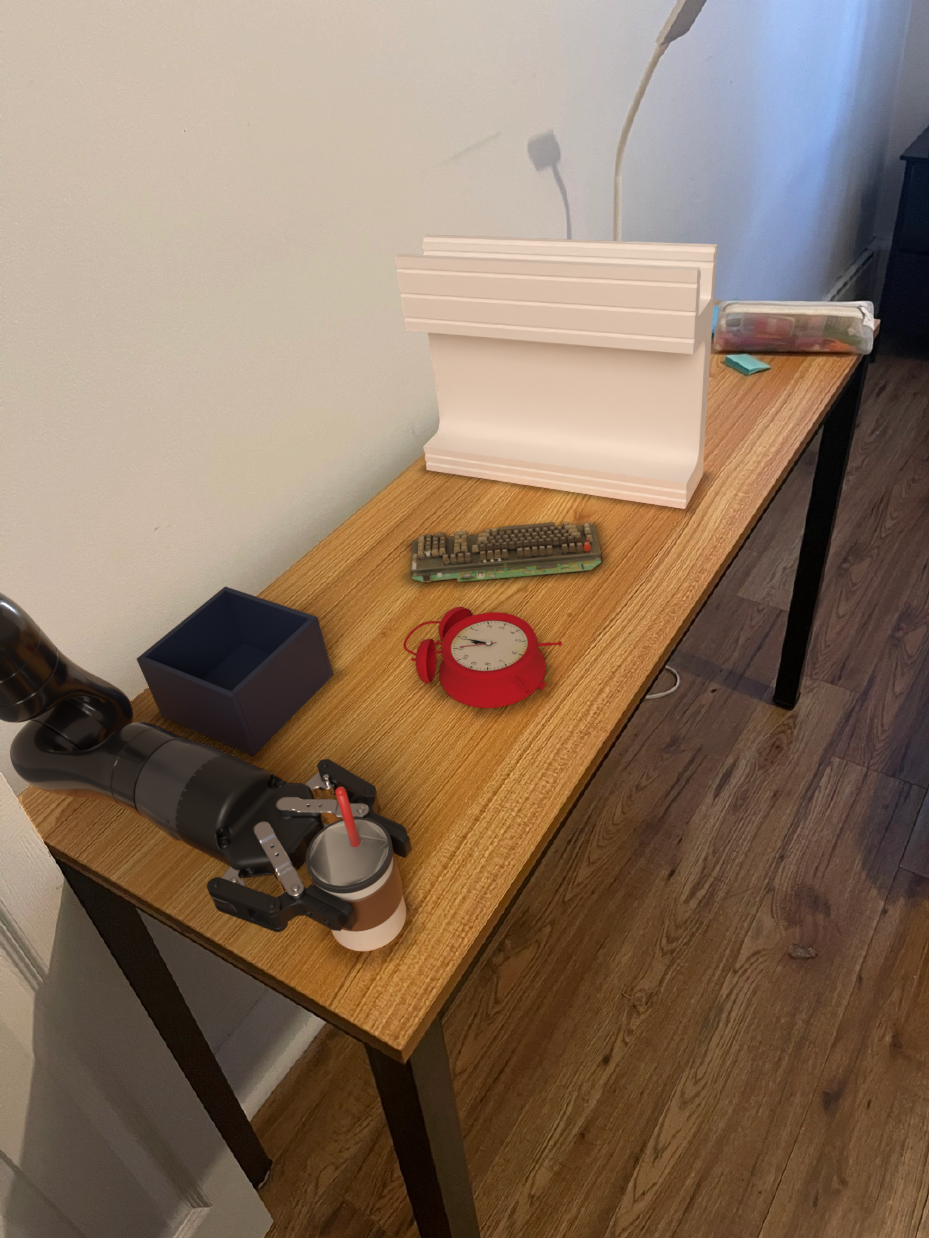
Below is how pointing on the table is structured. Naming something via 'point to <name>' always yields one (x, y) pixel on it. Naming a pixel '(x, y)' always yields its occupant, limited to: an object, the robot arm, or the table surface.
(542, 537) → the keyboard
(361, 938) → the paper cup
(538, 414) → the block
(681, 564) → the table surface
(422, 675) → the alarm clock
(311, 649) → the bin
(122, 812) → the table surface
